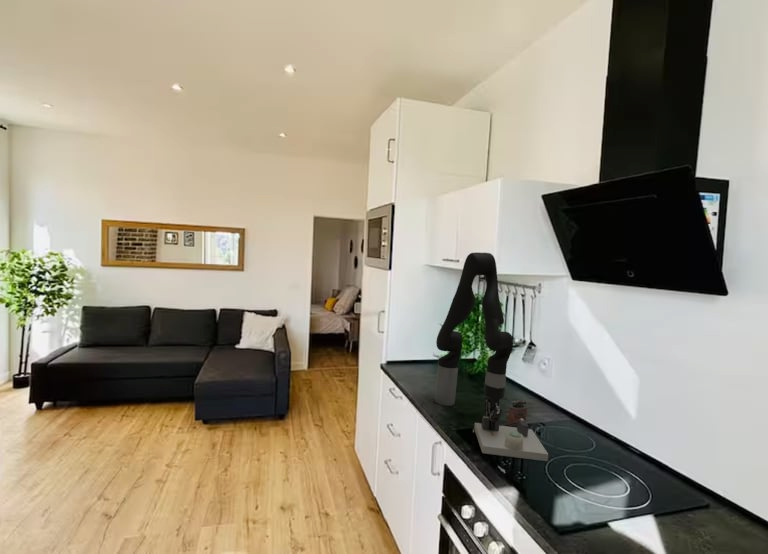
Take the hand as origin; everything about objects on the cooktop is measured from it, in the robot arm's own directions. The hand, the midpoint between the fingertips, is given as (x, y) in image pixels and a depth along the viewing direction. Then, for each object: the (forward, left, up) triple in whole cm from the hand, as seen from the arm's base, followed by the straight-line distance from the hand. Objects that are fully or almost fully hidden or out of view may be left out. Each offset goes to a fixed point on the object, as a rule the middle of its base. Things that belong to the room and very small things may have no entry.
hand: (490, 427), depth 152 cm
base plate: (+5, +6, -3) cm, 8 cm away
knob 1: (0, 0, 0) cm, 0 cm away
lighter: (-15, +14, -3) cm, 21 cm away
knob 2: (0, +12, 0) cm, 12 cm away
